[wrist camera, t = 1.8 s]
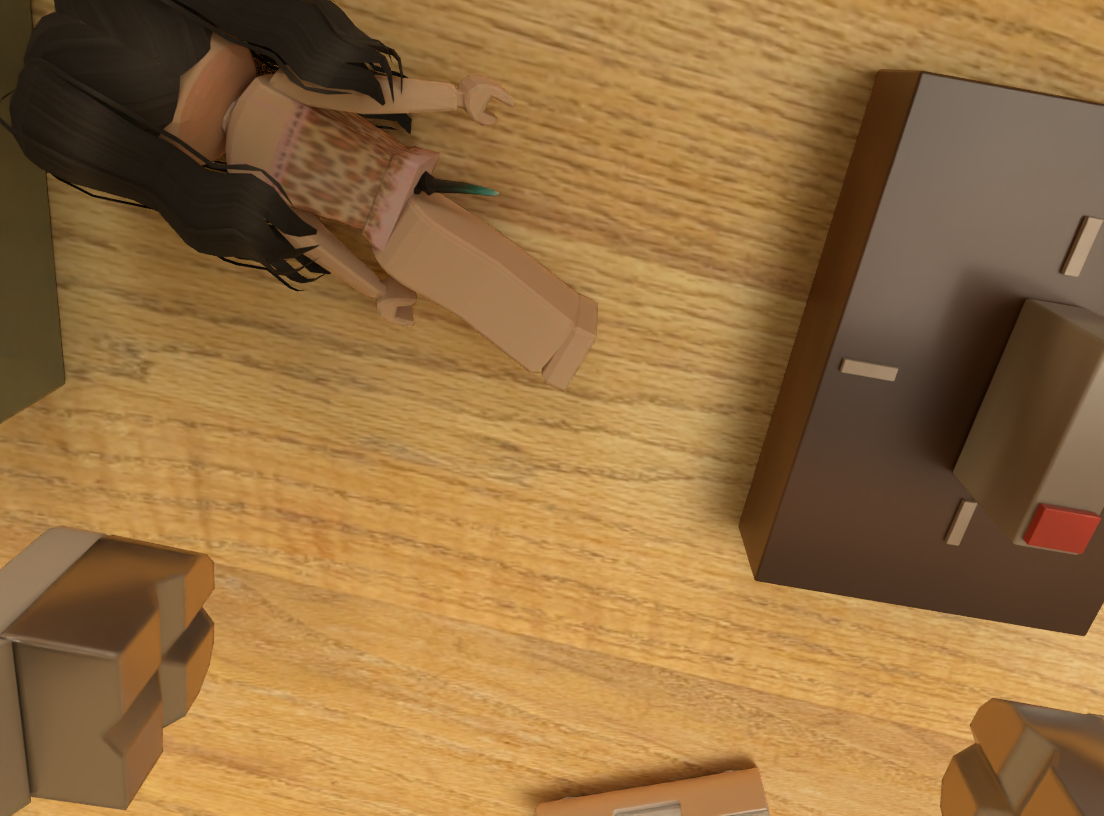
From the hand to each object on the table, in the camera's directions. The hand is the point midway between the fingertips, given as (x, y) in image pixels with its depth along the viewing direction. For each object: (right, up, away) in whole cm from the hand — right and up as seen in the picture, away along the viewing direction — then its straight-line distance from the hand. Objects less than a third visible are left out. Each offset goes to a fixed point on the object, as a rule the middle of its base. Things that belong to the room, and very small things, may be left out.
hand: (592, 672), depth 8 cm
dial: (+12, +3, +12) cm, 17 cm away
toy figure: (-5, +10, +14) cm, 18 cm away
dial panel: (+12, +4, +15) cm, 20 cm away
